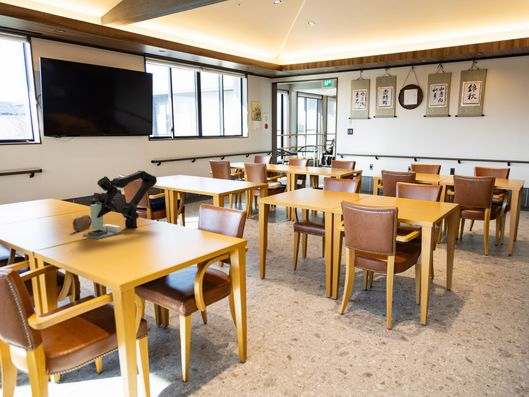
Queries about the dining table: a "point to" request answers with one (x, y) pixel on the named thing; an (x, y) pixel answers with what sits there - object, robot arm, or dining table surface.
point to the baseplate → (104, 232)
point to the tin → (81, 223)
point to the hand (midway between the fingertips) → (94, 217)
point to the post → (96, 222)
